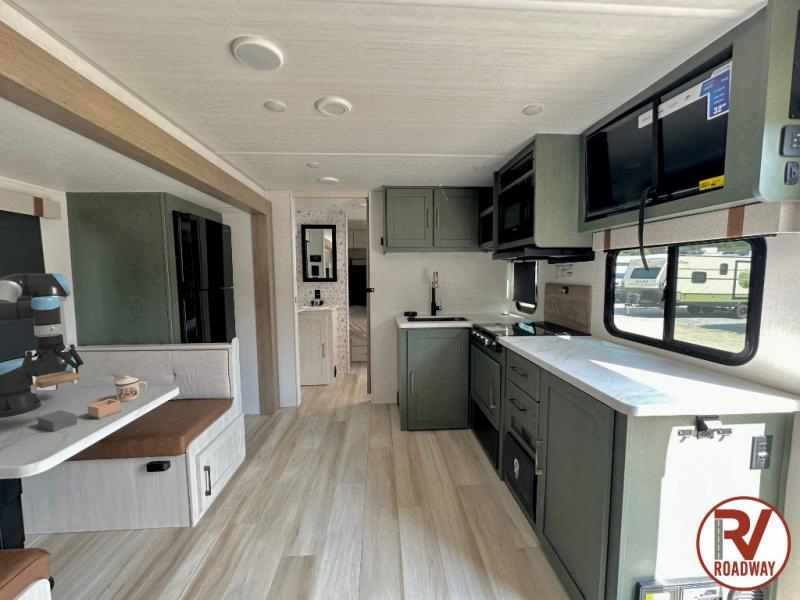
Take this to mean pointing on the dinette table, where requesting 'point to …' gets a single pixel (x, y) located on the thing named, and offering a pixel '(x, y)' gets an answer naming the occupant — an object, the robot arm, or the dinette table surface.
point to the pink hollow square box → (104, 408)
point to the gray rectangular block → (57, 420)
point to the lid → (56, 378)
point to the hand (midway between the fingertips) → (54, 387)
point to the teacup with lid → (128, 388)
